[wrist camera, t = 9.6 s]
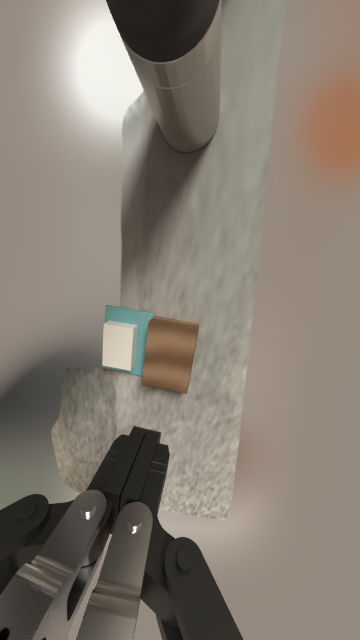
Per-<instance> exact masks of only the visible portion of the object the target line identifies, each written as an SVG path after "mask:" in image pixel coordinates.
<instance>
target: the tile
mask: <svg viewBox="0 0 360 640" xmlns="http://www.w3.org/2000/svg"><path fill="white" fill-rule="evenodd" d="M137 327H138V325H133V324H128V323H122V322H116V321H110V320H109V321H107V322H106V323H104V329H103V362H102V365H103V366H108V367H113V368H118V369H123V370H128V371H131V370H132V368H133V367H134V366H135V354H136V340H137Z"/></svg>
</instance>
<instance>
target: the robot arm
mask: <svg viewBox="0 0 360 640" xmlns="http://www.w3.org/2000/svg"><path fill="white" fill-rule="evenodd" d="M106 1H107V4H108V7H109V9H110V12H111V14H112V17H113V19H114V22H115V24H116V26H117V29H118V31H119V33H120V36H121V38H122V40H123V43H124V45H125V47H126V50H127V52H128V54H129V56H130V59H131V61H132V63H133V66H134V68H135V70H136V73H137V75H138V77H139V79H140V82H141V84H142V87H143V89H144V91H145V94H146V96H147V98H148V101H149V103H150V106H151V108H152V110H153V113H154V115H155V117H156V120H157V122H158V124H159V127H160V129H161V131H162V134H163V136H164V138H165V140H166V141H167V142H168V144H169V145H170V146H172V147H173V148H174V149H176V150H178V151H181V152H193V151H197V150H199V149H200V148H202V147H203V146H205V145H206V144H207V143H208V142H209V141H210V139H211V138H212V137H213V135H214V133H215V131H216V128H217V125H218V121H219V105H220V67H221V24H222V0H106ZM160 437H161V432H157V431H153V430H149V429H148V430H147V429H144V428H140V427H136V426H134V427H133V429H132V431H131V433H130V435H129V436H127V435H123V434H122V435H121V436H119V437H118V438H117V439H116V440H115V441H114V442H113V444H112V446H111V447H110V449H109V451H108V453H107V455H106V456H105V459H104V460H103V462H102V463H101V465H100V467H99V469H98V471H97V472H96V474H95V476H94V478H93V480H92V481H91V483H90V485H89V487H88V488H87V490H86V491H85V492H83V493H81V494H80V495H78V496H77V497H76V498H75V500H73V501H70V502H65V503H56V504H49V503H48V500H47V498H46V497H45V496H43V495H41V494H33V495H29V496H26V497H24V498H22V499H21V500H18V501H17V502H15V503H13V504H11V505H9V506H7V507H5V508H3V509H2V510H0V640H67V638H68V634H69V631H70V629H71V626H72V623H73V621H74V619H75V616H76V614H77V612H78V609H79V607H80V605H81V603H82V601H83V598H84V596H85V594H86V592H87V589H88V587H89V585H90V583H91V580H92V578H93V576H94V574H95V571H96V569H97V566H98V565H99V562H100V560H101V558H102V555H103V550H104V547H105V545H106V542H107V539H108V537H109V534H112V537H111V540H110V543H109V547H108V550H107V553H106V556H105V560H104V563H103V566H102V569H101V572H100V576H99V579H98V582H97V585H96V587H95V589H94V590H93V591H92V594H91V596H90V598H89V601H88V604H87V607H86V610H85V613H84V616H83V620H82V623H81V626H80V629H79V632H78V636H77V638H76V640H133V639H134V633H135V627H136V621H137V616H138V610H139V604H140V598H141V599H142V600H143V601H144V602H145V603H146V604H147V605H148V606H149V607H150V608H151V609H152V610H153V611H154V612H155V613H156V618H157V622H158V625H159V629H160V632H161V636H162V640H243V638H242V636H241V634H240V632H239V630H238V628H237V626H236V624H235V622H234V619H233V617H232V615H231V613H230V611H229V609H228V607H227V605H226V603H225V601H224V599H223V597H222V594H221V592H220V590H219V588H218V586H217V584H216V582H215V580H214V578H213V576H212V574H211V572H210V569H209V567H208V565H207V563H206V561H205V559H204V557H203V555H202V553H201V551H200V549H199V547H198V546H197V544H196V543H195V542H193V541H192V540H191V539H189V538H185V537H180V538H177V539H175V538H173V537H172V536H171V535H170V534H168V533H167V532H166V531H165V530H164V529H163V528H162V526H161V525H160V523H159V520H158V517H157V514H158V510H159V505H160V501H161V496H162V492H163V487H164V483H165V479H166V474H167V468H168V462H169V456H170V454H169V449H168V445H164V444H160Z"/></svg>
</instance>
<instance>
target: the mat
mask: <svg viewBox="0 0 360 640" xmlns="http://www.w3.org/2000/svg"><path fill="white" fill-rule="evenodd" d="M153 317H154V313H148V312H143V311H137V310H132V309H126V308H121V307H115V306H109V305H106V310H105V323H106V322H107V321H109V320H110V321H116V322H122V323H128V324H133V325H138V327H137V340H136V354H135V366H134V367H133V368H132V370H131V371H128V370H123V369H118V368H113V367H108V366H103V368H107V369H111V370H116V371H121V372H125V373H130V374H135V375H140V376H143V369H144V359H145V350H146V340H147V331H148V321H150V320H151V319H152V318H153Z"/></svg>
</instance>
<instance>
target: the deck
mask: <svg viewBox="0 0 360 640" xmlns="http://www.w3.org/2000/svg"><path fill="white" fill-rule="evenodd" d="M198 329H199V324H196V323H190V322H185V321H179V320H174V319H168V318H162V317H157V316H154V317H153V318H152V319H151V320H150V321H148V331H147V340H146V350H145V359H144V369H143V378H142V384H144V385H148V386H153V387H158V388H162V389H167V390H172V391H176V392H181V393H185V394H187V391H188V386H189V381H190V375H191V370H192V364H193V358H194V352H195V347H196V341H197V335H198Z"/></svg>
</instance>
